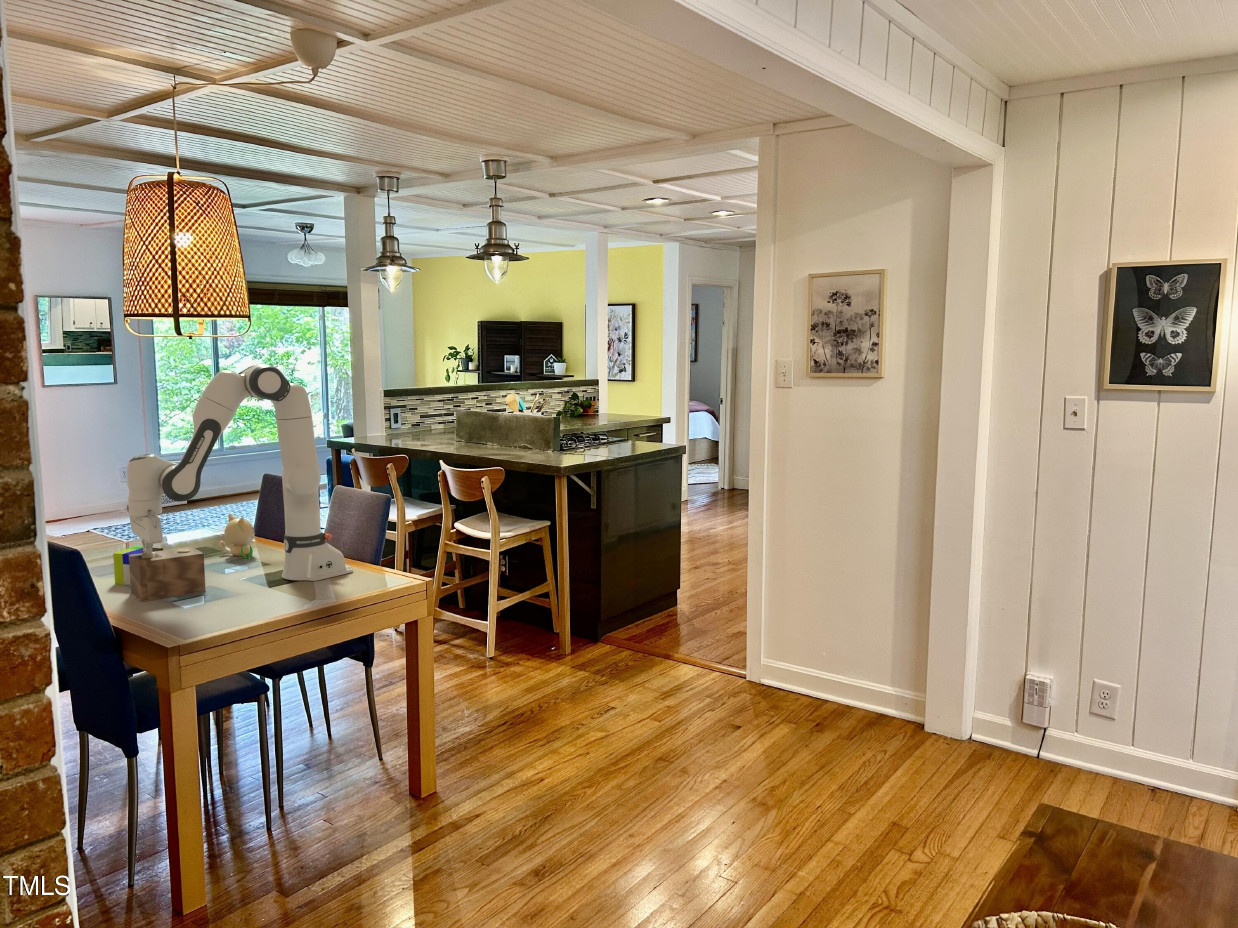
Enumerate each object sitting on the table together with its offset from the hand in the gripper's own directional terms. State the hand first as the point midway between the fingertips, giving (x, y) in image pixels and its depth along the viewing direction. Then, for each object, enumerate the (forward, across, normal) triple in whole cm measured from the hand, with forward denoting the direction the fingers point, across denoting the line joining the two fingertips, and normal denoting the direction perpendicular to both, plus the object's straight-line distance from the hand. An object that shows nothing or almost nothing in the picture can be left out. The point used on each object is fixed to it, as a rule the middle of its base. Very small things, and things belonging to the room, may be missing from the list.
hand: (147, 553), depth 266 cm
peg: (+11, 0, 0) cm, 11 cm away
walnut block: (+13, 0, -5) cm, 14 cm away
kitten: (+13, +35, -39) cm, 54 cm away
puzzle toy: (+13, +20, -2) cm, 24 cm away
